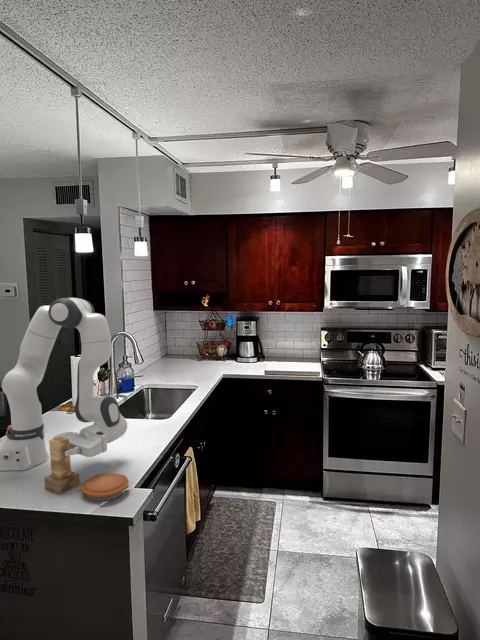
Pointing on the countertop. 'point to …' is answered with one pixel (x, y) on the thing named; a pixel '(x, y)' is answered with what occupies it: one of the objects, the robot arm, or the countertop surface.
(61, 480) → the walnut plinth
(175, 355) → the countertop surface
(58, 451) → the oak post
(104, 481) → the pie
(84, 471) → the slate board
